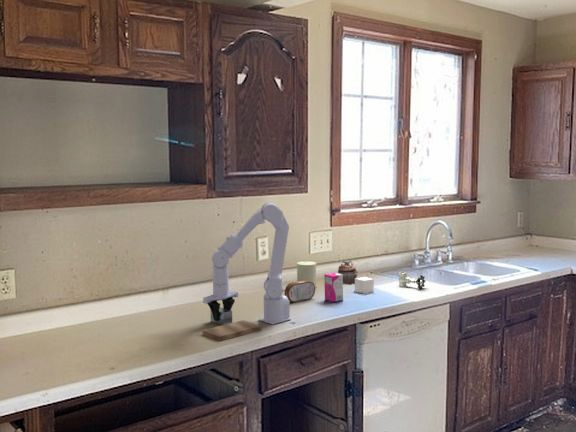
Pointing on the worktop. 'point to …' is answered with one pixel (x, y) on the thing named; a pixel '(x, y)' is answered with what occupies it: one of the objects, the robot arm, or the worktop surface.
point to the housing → (223, 316)
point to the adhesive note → (364, 285)
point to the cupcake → (348, 272)
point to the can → (306, 271)
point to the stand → (231, 330)
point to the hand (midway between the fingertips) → (221, 319)
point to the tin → (300, 290)
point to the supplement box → (333, 287)
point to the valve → (410, 280)
